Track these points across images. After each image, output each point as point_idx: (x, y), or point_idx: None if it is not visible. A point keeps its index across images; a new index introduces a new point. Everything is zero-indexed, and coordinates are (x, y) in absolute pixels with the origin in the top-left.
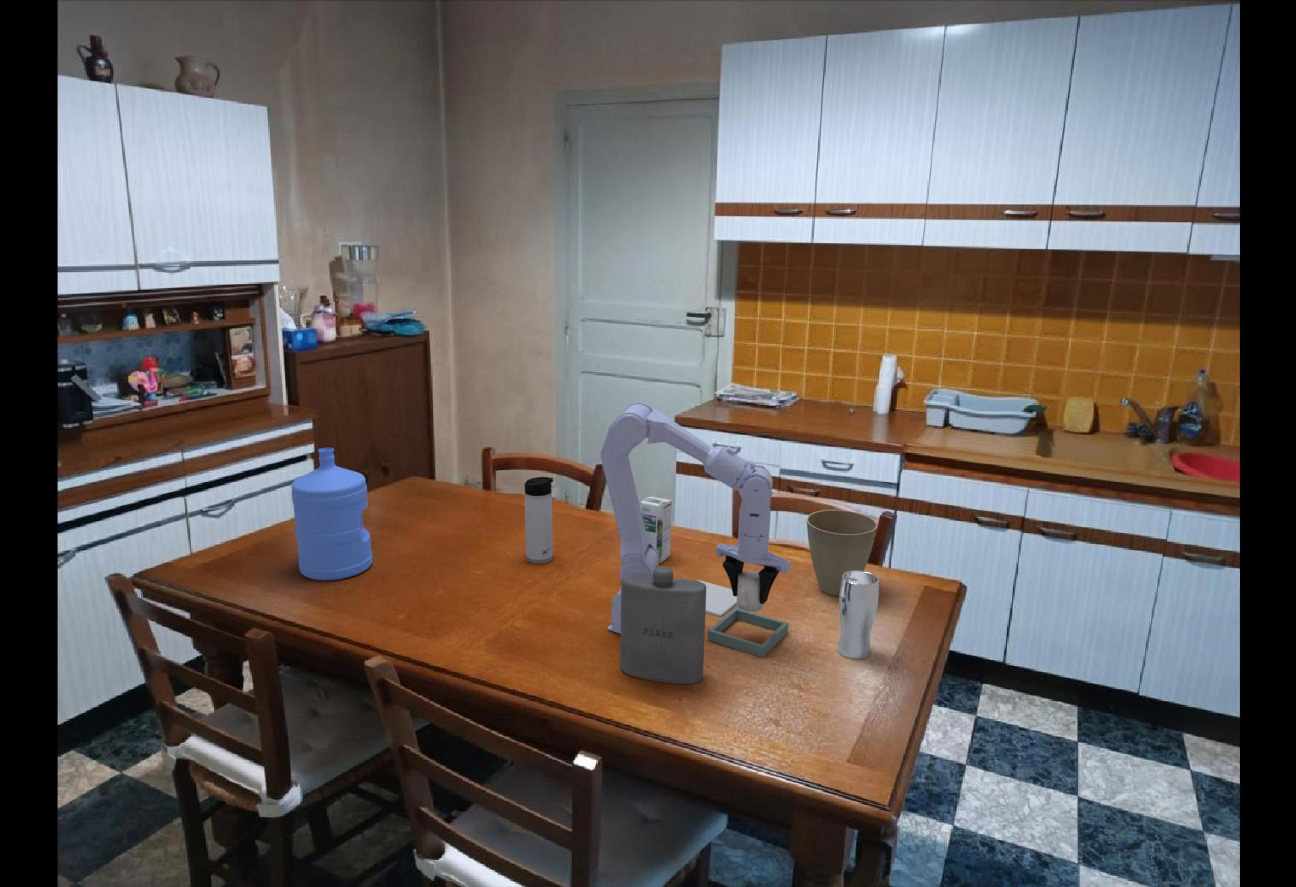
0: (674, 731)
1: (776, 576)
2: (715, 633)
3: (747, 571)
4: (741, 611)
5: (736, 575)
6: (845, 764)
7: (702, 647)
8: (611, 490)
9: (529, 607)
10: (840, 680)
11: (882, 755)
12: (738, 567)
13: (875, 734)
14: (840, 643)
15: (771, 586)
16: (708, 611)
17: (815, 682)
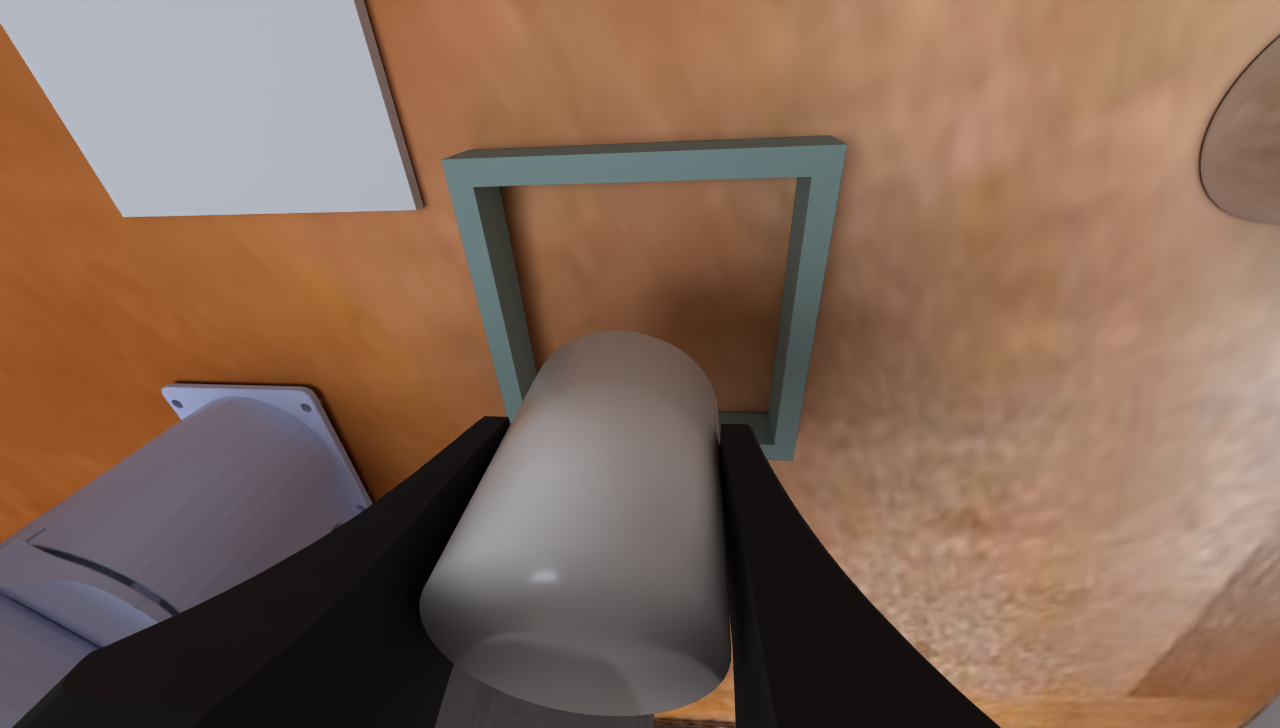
0: (711, 710)
1: (900, 644)
2: None
3: (451, 577)
4: (505, 185)
5: (436, 650)
6: (1123, 701)
7: (653, 722)
8: None
9: (15, 504)
10: (1165, 427)
11: (1250, 666)
12: (375, 720)
13: (1253, 616)
14: (1274, 197)
15: (801, 519)
16: (343, 211)
17: (1038, 479)
